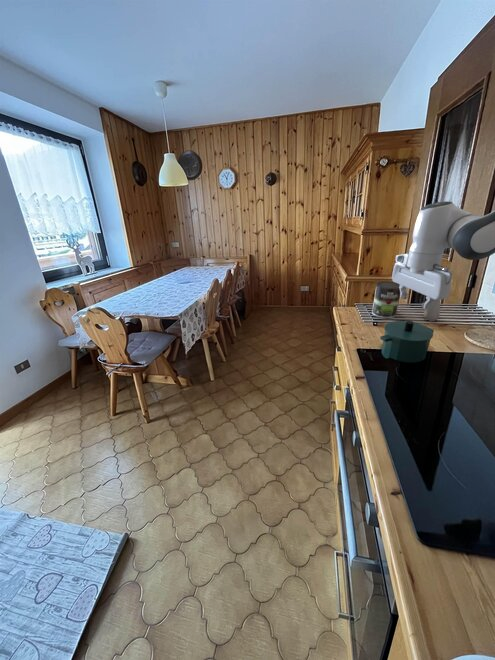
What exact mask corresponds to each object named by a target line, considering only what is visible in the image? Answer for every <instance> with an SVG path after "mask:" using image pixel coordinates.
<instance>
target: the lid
mask: <svg viewBox="0 0 495 660" xmlns="http://www.w3.org/2000/svg"><path fill="white" fill-rule="evenodd" d="M429 328H430V327H429ZM429 328H428V326H426V325H425V324H421V323H418V322H416V321H415V322H414V321H413V320H394V321H390V322H388V323H386V324H385V325H384V328H383V329H384V333H385V332H386V333H387V334H389V335H390V336H392V337H394V338H397V339H400V340H403V341H409V342H424V341H428V340H430V341H431V339H433V337H434V332H432V330H433V329H432V328H430V329H429ZM431 329H432V330H431Z"/></svg>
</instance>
